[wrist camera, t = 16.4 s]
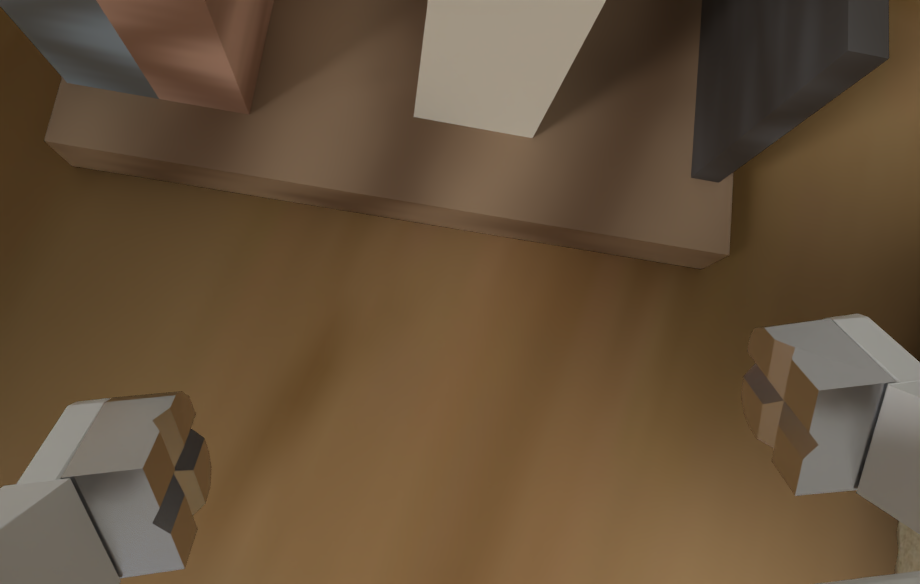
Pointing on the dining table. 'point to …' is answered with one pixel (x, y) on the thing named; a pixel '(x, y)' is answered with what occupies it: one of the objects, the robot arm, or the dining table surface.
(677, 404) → the dining table surface
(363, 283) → the dining table surface
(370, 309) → the dining table surface
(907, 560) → the rough brown rock
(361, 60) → the shelf
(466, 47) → the white rectangular block
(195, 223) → the dining table surface
